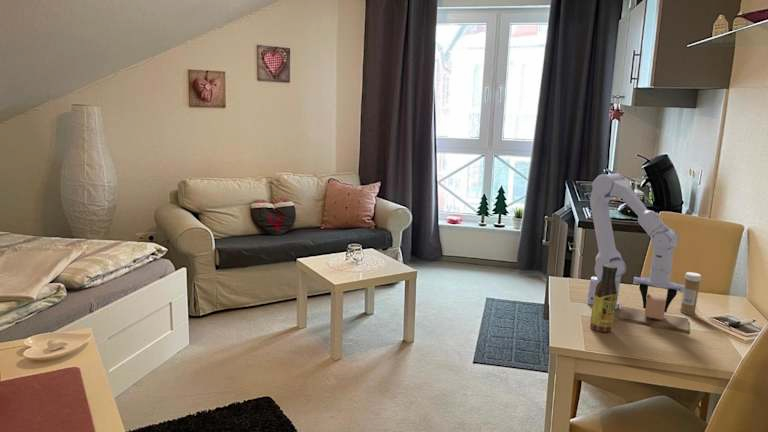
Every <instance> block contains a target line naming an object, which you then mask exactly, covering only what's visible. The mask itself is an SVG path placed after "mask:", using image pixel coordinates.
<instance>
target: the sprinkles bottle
mask: <svg viewBox="0 0 768 432" xmlns="http://www.w3.org/2000/svg"><path fill="white" fill-rule="evenodd" d="M684 279H685V280H684V285H685V288H684V293H683V292H682V297H681V305H680V309H679V311H680V312H681V313H682V314H685V315H690V316H691V315H692V316H693V315H695V314H696V307H697V302H698V297H699V296H698V295H699V289H700V283H701V280H702V275H701V274H700V273H697V272H691V271H687V272H685V275H684Z"/></svg>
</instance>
